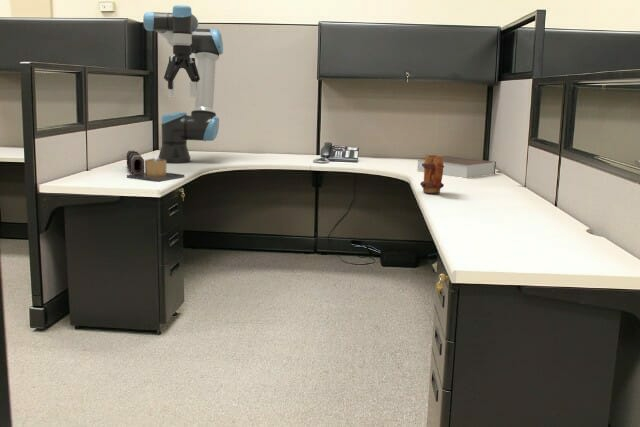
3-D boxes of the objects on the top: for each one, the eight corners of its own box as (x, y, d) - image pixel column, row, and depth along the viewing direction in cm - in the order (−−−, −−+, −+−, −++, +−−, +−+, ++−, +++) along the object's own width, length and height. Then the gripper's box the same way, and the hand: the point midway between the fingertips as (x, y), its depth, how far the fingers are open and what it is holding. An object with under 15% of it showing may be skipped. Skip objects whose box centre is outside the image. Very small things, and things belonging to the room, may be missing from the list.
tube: (141, 172, 295) (149, 173, 267) (126, 176, 292) (133, 178, 265) (134, 149, 293) (142, 147, 265) (119, 152, 291) (125, 151, 263)
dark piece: (154, 173, 273) (153, 155, 272) (184, 177, 266) (184, 158, 265) (126, 177, 259) (126, 158, 258) (158, 181, 252) (157, 162, 251)
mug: (417, 190, 252) (420, 152, 249) (438, 191, 253) (441, 152, 250) (427, 197, 238) (429, 156, 235) (448, 197, 239) (451, 157, 236)
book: (445, 168, 327) (446, 155, 326) (494, 175, 308) (496, 161, 307) (415, 172, 310) (416, 158, 309) (466, 179, 291) (467, 165, 290)
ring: (155, 173, 268) (154, 158, 267) (170, 174, 264) (170, 160, 263) (141, 175, 261) (141, 160, 260) (156, 177, 257) (156, 161, 256)
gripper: (194, 46, 280) (194, 96, 284) (154, 42, 258) (155, 97, 262) (208, 46, 276) (208, 97, 280) (169, 42, 254) (169, 97, 259)
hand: (182, 97), depth 271 cm, fingers open, 13 cm apart
